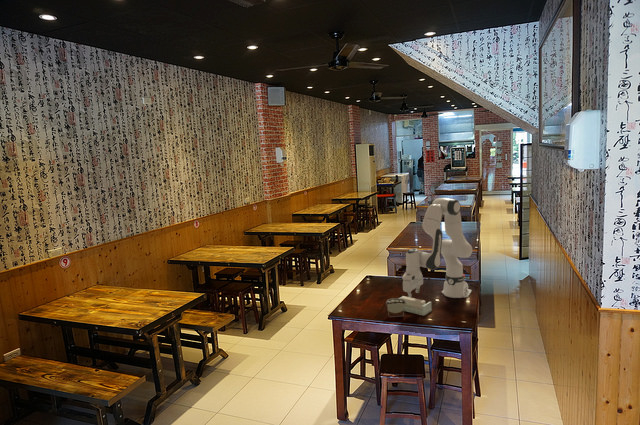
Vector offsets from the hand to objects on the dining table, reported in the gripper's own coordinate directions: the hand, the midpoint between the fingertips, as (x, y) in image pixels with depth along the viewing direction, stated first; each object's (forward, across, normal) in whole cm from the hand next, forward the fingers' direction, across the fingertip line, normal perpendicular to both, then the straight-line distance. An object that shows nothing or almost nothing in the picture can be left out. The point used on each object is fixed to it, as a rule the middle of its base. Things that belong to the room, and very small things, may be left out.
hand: (413, 294), depth 275 cm
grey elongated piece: (+10, +1, 0) cm, 10 cm away
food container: (+10, +15, -5) cm, 18 cm away
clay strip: (+9, +1, 0) cm, 9 cm away
